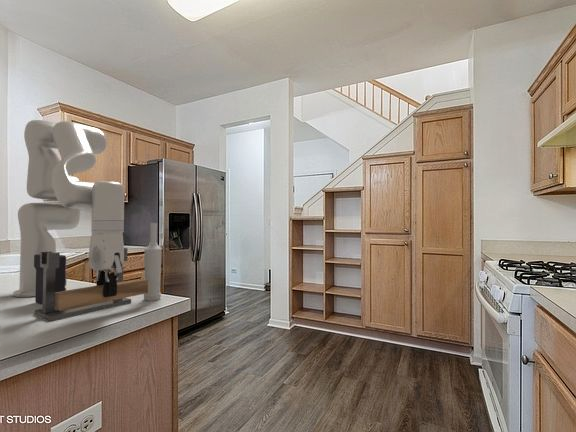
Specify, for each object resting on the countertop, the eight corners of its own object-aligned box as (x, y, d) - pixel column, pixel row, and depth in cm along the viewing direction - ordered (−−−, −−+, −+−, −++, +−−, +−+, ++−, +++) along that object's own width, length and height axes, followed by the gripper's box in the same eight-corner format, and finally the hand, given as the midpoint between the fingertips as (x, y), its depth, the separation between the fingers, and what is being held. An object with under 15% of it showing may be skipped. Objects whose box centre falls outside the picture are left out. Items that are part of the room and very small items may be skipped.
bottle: (154, 301, 94) (155, 223, 95) (139, 300, 95) (141, 222, 96) (164, 297, 100) (165, 223, 100) (150, 296, 101) (151, 222, 101)
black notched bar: (67, 304, 90) (68, 255, 90) (51, 308, 86) (52, 256, 87) (49, 300, 95) (50, 253, 96) (32, 303, 91) (33, 254, 92)
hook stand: (34, 314, 80) (35, 251, 81) (114, 298, 98) (115, 246, 98) (48, 321, 75) (50, 254, 75) (131, 303, 93) (132, 248, 93)
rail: (55, 309, 72) (55, 292, 72) (142, 291, 90) (142, 278, 90) (60, 311, 70) (60, 294, 70) (147, 293, 89) (148, 279, 89)
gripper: (78, 227, 82) (77, 294, 82) (108, 228, 73) (107, 303, 73) (107, 226, 88) (105, 289, 88) (138, 227, 79) (136, 296, 79)
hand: (106, 294), depth 80 cm, fingers closed on rail, 3 cm apart
